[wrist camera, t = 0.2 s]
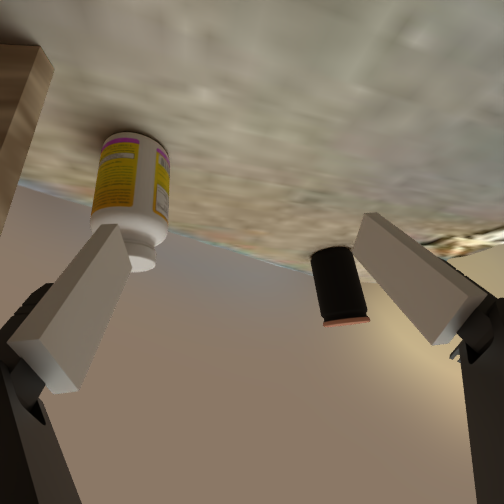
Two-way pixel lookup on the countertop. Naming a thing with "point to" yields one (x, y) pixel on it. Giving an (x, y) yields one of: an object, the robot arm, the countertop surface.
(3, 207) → the stand
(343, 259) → the coffee jar
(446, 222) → the countertop surface
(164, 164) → the supplement bottle
